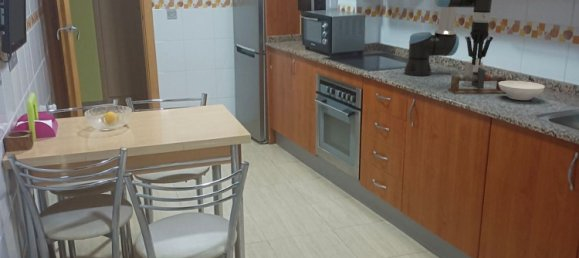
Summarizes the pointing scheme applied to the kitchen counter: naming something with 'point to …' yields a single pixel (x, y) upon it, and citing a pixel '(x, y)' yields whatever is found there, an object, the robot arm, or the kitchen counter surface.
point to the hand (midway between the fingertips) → (475, 71)
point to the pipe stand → (488, 77)
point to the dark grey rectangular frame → (479, 78)
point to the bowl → (521, 89)
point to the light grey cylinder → (469, 72)
